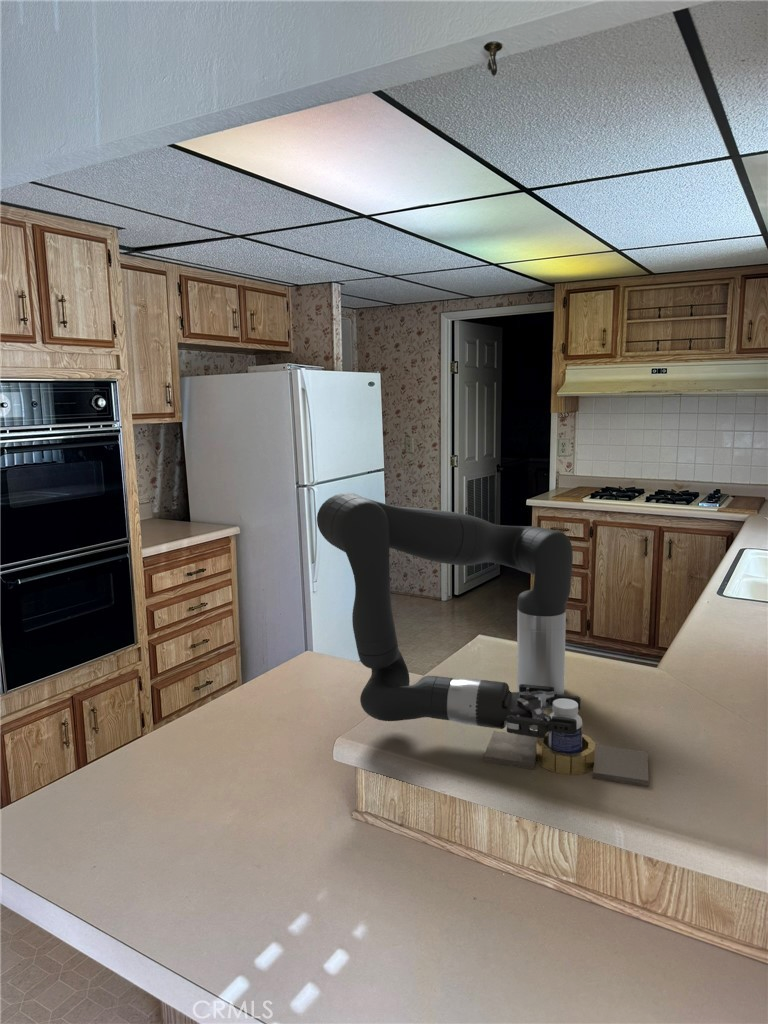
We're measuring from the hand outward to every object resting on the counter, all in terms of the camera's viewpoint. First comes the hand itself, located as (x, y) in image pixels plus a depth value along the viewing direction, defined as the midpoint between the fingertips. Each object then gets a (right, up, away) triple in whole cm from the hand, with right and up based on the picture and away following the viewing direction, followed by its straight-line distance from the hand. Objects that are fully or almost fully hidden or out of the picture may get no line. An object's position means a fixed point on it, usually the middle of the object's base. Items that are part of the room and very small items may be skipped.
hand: (578, 714), depth 111 cm
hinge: (-2, -8, +2) cm, 8 cm away
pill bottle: (-2, -8, +2) cm, 8 cm away
